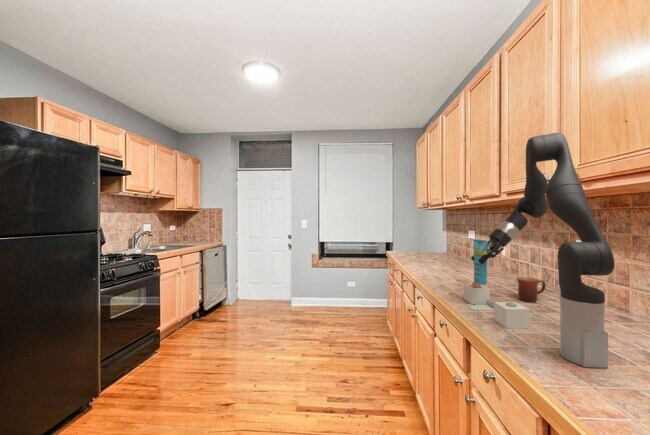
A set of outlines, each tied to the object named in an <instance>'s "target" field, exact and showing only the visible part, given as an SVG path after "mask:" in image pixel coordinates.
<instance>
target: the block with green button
mask: <svg viewBox="0 0 650 435" xmlns="http://www.w3.org/2000/svg"><path fill="white" fill-rule="evenodd" d="M493 309H494V310H493V320H494V322H497V323H498V324H499V325H501V326H502V327H504V328H505V329H514V330H515V329H518V330H519V329H521V330H523V329H524V330H528V329H530V309H529V308H528V307H525V306H524V305H522V304H519V303H518V302H515V301H514V302H513V301H509V302H508V301H496V302H494V308H493Z"/></svg>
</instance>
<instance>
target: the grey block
mask: <svg viewBox="0 0 650 435" xmlns="http://www.w3.org/2000/svg"><path fill="white" fill-rule="evenodd" d="M490 291H491V290H490V288H487V287H486V286H484V285H481V288H473V287H472V284H463V300H464V301H465V302H467V303H469V305H473V304H475V305H487V299H491V297H490V295H491V292H490Z"/></svg>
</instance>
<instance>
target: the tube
mask: <svg viewBox="0 0 650 435" xmlns="http://www.w3.org/2000/svg"><path fill="white" fill-rule="evenodd" d="M472 241H473V243H472V244H473V255H474V261H473V279H474V280H473V282H474V283H475V284H479V285H482V286H484V285H487V284H488V259H487V260H486V261H485V262H484V263H483V264H480V263H479V262H478V260H479V259H480V258H481V257H482V256H483V255H485V253H486V252H487V242H488V240H485V239H484V240H483V239H482V240H481V239H474V238H473V239H472Z"/></svg>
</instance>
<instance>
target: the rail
mask: <svg viewBox="0 0 650 435" xmlns="http://www.w3.org/2000/svg"><path fill="white" fill-rule="evenodd" d="M494 302H497V301H496V300H495V299H492V298H490V299H487V305H488V306H490V307H491V308H493V309H494Z"/></svg>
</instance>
